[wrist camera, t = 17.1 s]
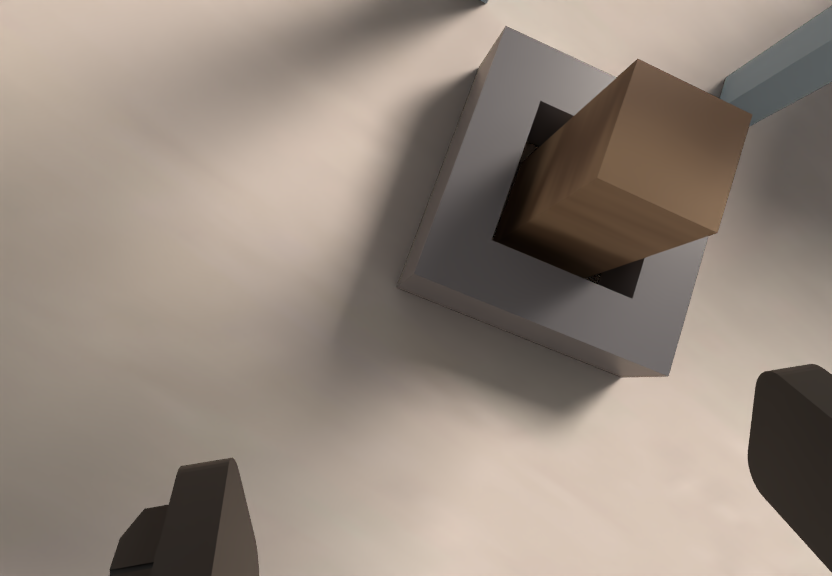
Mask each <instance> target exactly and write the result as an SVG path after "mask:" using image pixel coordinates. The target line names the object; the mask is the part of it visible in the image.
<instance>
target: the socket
mask: <svg viewBox="0 0 832 576" xmlns="http://www.w3.org/2000/svg"><path fill="white" fill-rule="evenodd" d="M616 78H617V77H615V76H613V75H610V74H608V73H606V72H604V71H602V70H600V69H597V68H595V67H593V66H591V65H589V64H587V63H585V62H582V61H580V60H578V59H576V58H574V57H572V56H570V55H567V54H565V53H563V52H561V51H559V50H557V49H554V48H552V47H550V46H548V45H546V44H544V43H542V42H539V41H537V40H535V39H533V38H531V37H529V36H527V35H524V34H522V33H520V32H518V31H516V30H514V29H511V28H509V27H507V26H505V28H504V30H503V31H502V33H501V34H500V36H499V37H498V39H497V40H496V42H495V43H494V45H493V46H492V48H491V49H490V51H489V53H488V54H487V56H486V57H485V59H484V60H483V62H482V63H481V65H480V66H479V68H478V71H477V74H476V76H475V79H474V82H473V84H472V87H471V90H470V92H469V95H468V98H467V100H466V103H465V106H464V108H463V111H462V114H461V116H460V119H459V122H458V124H457V127H456V130H455V132H454V135H453V138H452V140H451V143H450V146H449V148H448V151H447V154H446V156H445V159H444V162H443V164H442V167H441V170H440V172H439V175H438V178H437V180H436V183H435V186H434V188H433V191H432V194H431V196H430V199H429V202H428V204H427V207H426V210H425V212H424V215H423V218H422V220H421V223H420V226H419V228H418V231H417V234H416V236H415V239H414V242H413V244H412V247H411V250H410V252H409V255H408V258H407V260H406V263H405V266H404V268H403V271H402V274H401V276H400V279H399V282H398V284H397V288H399V289H402V290H404V291H407V292H409V293H412V294H414V295H417V296H419V297H422V298H424V299H427V300H429V301H432V302H434V303H437V304H439V305H442V306H444V307H447V308H449V309H452V310H454V311H457V312H459V313H462V314H464V315H467V316H469V317H472V318H474V319H477V320H479V321H482V322H484V323H487V324H489V325H492V326H494V327H497V328H499V329H502V330H504V331H507V332H509V333H512V334H515V335H517V336H520V337H522V338H525V339H527V340H530V341H532V342H535V343H537V344H540V345H542V346H545V347H547V348H550V349H552V350H555V351H557V352H560V353H562V354H565V355H567V356H570V357H572V358H575V359H577V360H580V361H582V362H585V363H587V364H590V365H592V366H595V367H597V368H600V369H602V370H605V371H607V372H610V373H612V374H615V375H617V376H620V377H665V376H669V372H670V369H671V365H672V362H673V358H674V355H675V351H676V348H677V344H678V341H679V337H680V334H681V330H682V327H683V323H684V320H685V316H686V313H687V309H688V306H689V302H690V299H691V295H692V292H693V288H694V285H695V281H696V278H697V274H698V271H699V267H700V264H701V260H702V257H703V253H704V250H705V246H706V243H707V239H708V236H707V237H704V238H701V239H698V240H695V241H692V242H689V243H686V244H684V245H681V246H678V247H675V248H672V249H669V250H666V251H663V252H660V253H657V254H654V255H651V256H648V257H646V258H643V259H640V260H637V261H634V262H631V263H628V264H625V265H622V266H619V267H616V268H613V269H611V270H608V271H605V272H602V274H601V277H600V280H599V283H598V284H596V283H593V282H591V281H588V280H586V279H584V278H581V277H579V276H577V275H574V274H572V273H569V272H567V271H565V270H562V269H560V268H557V267H555V266H553V265H550V264H548V263H545V262H543V261H541V260H538V259H536V258H533V257H531V256H529V255H526V254H524V253H521V252H519V251H517V250H514V249H512V248H509V247H507V246H505V245H502V244H500V243H498V242H495V241H493V240H492V237H493V235H494V232H495V229H496V226H497V223H498V220H499V218H500V215H501V212H502V209H503V206H504V203H505V201H506V198H507V195H508V192H509V189H510V186H511V183H512V181H513V178H514V175H515V172H516V169H517V166H518V164H519V161H520V158H521V155H522V152H523V149H524V146H525V144H526V141H528V142H530V143H532V144H535V145H537V146H539V147H540V146H541V145H542V144H543V143H544V142H545V141H546V140H547V139H549V138H550V137H551V136H552V135H553V134H554V133H555V132H556V131H558V130H559V129H560V128H561V127H562V126H563V125H564V124H565V123H566V122H568V121H569V120H570V119H571V118H572V117H573V116H574V115H575V114H577V113H578V112H579V111H580V110H581V109H582V108H583V107H584V106H585V105H587V104H588V103H589V102H590V101H591V100H592V99H593V98H594V97H596V96H597V95H598V94H599V93H600V92H601V91H602V90H603V89H605V88H606V87H607V86H608V85H609V84H610V83H611V82H612V81H613V80H615V79H616Z"/></svg>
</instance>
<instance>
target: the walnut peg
mask: <svg viewBox="0 0 832 576" xmlns="http://www.w3.org/2000/svg"><path fill="white" fill-rule="evenodd" d="M751 118H752V114H750V113H748V112H746V111H744V110H742V109H740V108H738V107H736V106H734V105H732V104H730V103H728V102H726V101H724V100H722V99H719V98H717V97H715V96H713V95H711V94H709V93H707V92H705V91H703V90H701V89H699V88H697V87H695V86H693V85H691V84H689V83H687V82H685V81H682V80H680V79H678V78H676V77H674V76H672V75H670V74H668V73H666V72H664V71H662V70H660V69H658V68H656V67H654V66H652V65H650V64H648V63H646V62H643V61H641V60H639V59H637V60H636V61H635V62H634V63H632V64H631V65H630V66H629V67H628V68H627V69H626V70H625V71H624V72H622V73H621V74H620V75H619V76H618V77H617V78H616V79H615V80H613V81H612V82H611V83H610V84H609V85H608V86H607V87H606V88H605V89H603V90H602V91H601V92H600V93H599V94H598V95H597V96H596V97H594V98H593V99H592V100H591V101H590V102H589V103H588V104H587V105H585V106H584V107H583V108H582V109H581V110H580V111H579V112H578V113H577V114H575V115H574V116H573V117H572V118H571V119H570V120H569V121H568V122H566V123H565V124H564V125H563V126H562V127H561V128H560V129H559V130H558V131H556V132H555V133H554V134H553V135H552V136H551V137H550V138H549V139H547V140H546V141H545V142H544V143H543V144H542V145H541V146H540V147H539V148H537V149H536V150H535V151H534V152H533V153H532V154H531V155H530V156H528V157H527V158H526V159H525V160H524V161H523V162H522V163H521V166H520V169H519V172H518V174H517V177H516V180H515V183H514V185H513V188H512V191H511V193H510V196H509V199H508V202H507V204H506V207H505V210H504V213H503V215H502V218H501V221H500V223H499V226H498V229H497V232H496V234H495V237H494V240H493V241H495V242H498V243H500V244H502V245H505V246H507V247H509V248H512V249H514V250H517V251H519V252H521V253H524V254H526V255H529V256H531V257H533V258H536V259H538V260H541V261H543V262H545V263H548V264H550V265H553V266H555V267H557V268H560V269H562V270H565V271H567V272H569V273H572V274H574V275H577V276H579V277H581V278H587V277H590V276H593V275H596V274H599V273H602V272H605V271H608V270H611V269H613V268H616V267H619V266H622V265H625V264H628V263H631V262H634V261H637V260H640V259H643V258H646V257H648V256H651V255H654V254H657V253H660V252H663V251H666V250H669V249H672V248H675V247H678V246H681V245H684V244H686V243H689V242H692V241H695V240H698V239H701V238H704V237H707V236H710V235H713V234H716V233H717V232H718V229H719V226H720V222H721V219H722V216H723V212H724V209H725V206H726V202H727V199H728V196H729V192H730V189H731V185H732V182H733V179H734V175H735V172H736V169H737V165H738V162H739V159H740V155H741V152H742V149H743V145H744V142H745V138H746V135H747V132H748V128H749V125H750V122H751Z"/></svg>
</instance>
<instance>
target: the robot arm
mask: <svg viewBox="0 0 832 576" xmlns="http://www.w3.org/2000/svg"><path fill="white" fill-rule="evenodd" d="M748 465H749V469H750V473H751V476H752V479H753V481H754V483H755V485H756V487H757V489H758V490H759V492H760V493H761V494H762V496H763V497H764V498H765V499H766V500H767V501H768V502H769V504H770V505H771V506H772V507H773V508H774V509H775V510H776V511H777V512H778V514H779V515H780V516H781V517H782V518H783V519H784V520H785V521H786V522H787V523H788V525H789V526H790V527H791V528H792V529H793V530H794V531H795V532H796V533H797V535H798V536H799V537H800V538H801V539H802V540H803V541H804V542H805V543H806V544H807V546H808V547H809V548H810V549H811V550H812V551H813V552H814V553H815V554H816V556H817V557H818V558H819V559H820V560H821V561H822V562H823V563H824V564H825V566H826V567H827V568H828V569H829V570H830V571H831V572H832V374H830V373H829V372H827V371H826V370H825V369H823V368H822V367H820V366H818V365H815V364H808V365H802V366H796V367H790V368H783V369H777V370H771V371H765V372H763V373H762V374H761V375H760V376H759V377H758V379H757V382H756V387H755V395H754V404H753V412H752V421H751V429H750V438H749V446H748ZM110 576H259V564H258V554H257V546H256V541H255V536H254V532H253V528H252V524H251V519H250V515H249V511H248V507H247V503H246V499H245V495H244V490H243V486H242V482H241V478H240V474H239V470H238V466H237V463H236V461H235V459H234V458H228V459H222V460H215V461H209V462H203V463H197V464H191V465H185V466H181V467H180V468H179V469H178V472H177V475H176V479H175V483H174V487H173V491H172V495H171V498H170V502H169V505H164V506H159V507H153V508H147V509H144V510H143V511H142V512H141V514H140V515H139V516H138V517H137V518H136V520H135V521H134V522H133V523H132V524H131V526H130V527H129V528H128V529H127V531H126V532H125V533H124V534H123V535H122V537H121V538H120V540H119V543H118V546H117V549H116V552H115V555H114V558H113V561H112V564H111V567H110Z"/></svg>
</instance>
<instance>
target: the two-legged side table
mask: <svg viewBox="0 0 832 576" xmlns="http://www.w3.org/2000/svg"><path fill="white" fill-rule="evenodd" d="M480 1H482V2H484V3H486V4H487V2H488V0H480ZM831 82H832V6H830V7H829V8H828V9H826V10H825V11H823V12H822V13H820V14H819V15H817V16H816V17H814V18H813V19H811V20H810V21H808V22H807V23H805V24H804V25H802V26H801V27H800V28H798V29H797V30H795V31H794V32H792V33H791V34H789V35H788V36H786V37H785V38H783V39H782V40H780V41H779V42H777V43H776V44H774V45H773V46H771V47H770V48H769V49H767V50H766V51H764V52H763V53H761V54H760V55H758V56H757V57H755V58H754V59H752V60H751V61H749V62H748V63H746V64H745V65H743V66H742V67H740V68H739V69H738V70H736V71H735V72H733V73H732V74H730V75H729V76H727V77H726V79H725V82H724V86H723V89H722V92H721V96H720V99H722V100H724V101H726V102H728V103H730V104H732V105H734V106H736V107H738V108H740V109H742V110H744V111H746V112H748V113H750V114H752V118H751V122H750V125H749V126H751V125H753V124H755V123H757V122H759V121H761V120H762V119H764V118H766V117H768V116H770V115H772V114H773V113H775V112H777V111H779V110H781V109H783V108H785V107H786V106H788V105H790V104H792V103H794V102H796V101H797V100H799V99H801V98H803V97H805V96H807V95H809V94H810V93H812V92H814V91H816V90H818V89H820V88H821V87H823V86H825V85H827V84H829V83H831Z"/></svg>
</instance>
